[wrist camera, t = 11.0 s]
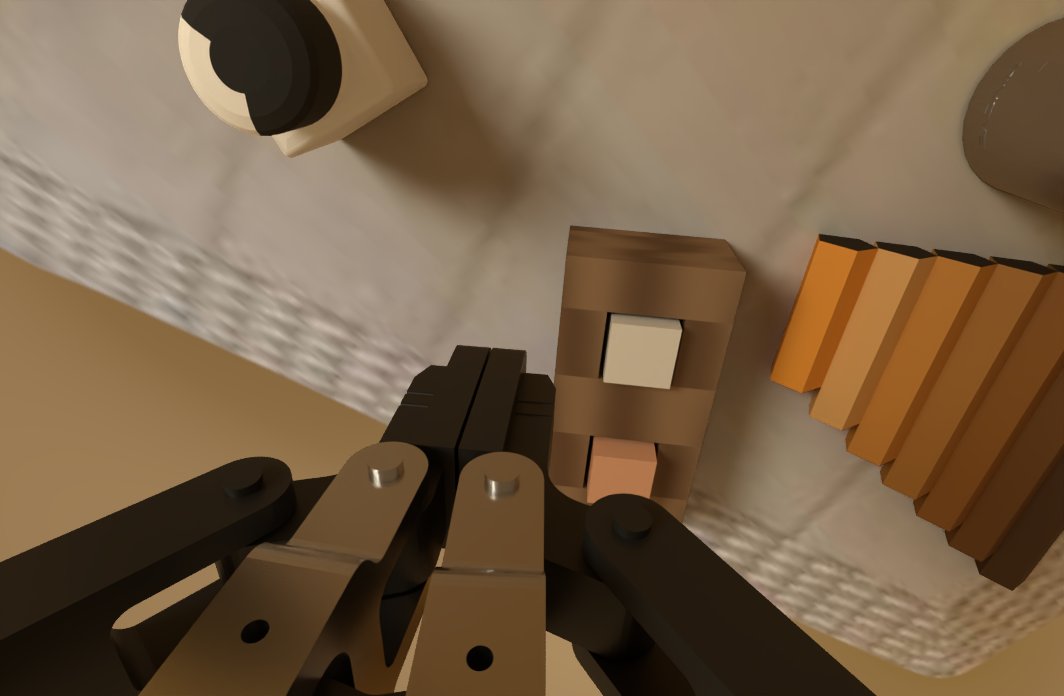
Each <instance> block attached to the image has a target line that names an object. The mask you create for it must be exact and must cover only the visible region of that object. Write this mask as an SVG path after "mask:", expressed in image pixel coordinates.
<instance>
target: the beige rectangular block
mask: <svg viewBox="0 0 1064 696" xmlns="http://www.w3.org/2000/svg"><path fill="white" fill-rule="evenodd" d="M681 333H682V328H681V325H680V322H679V319H675V318H665V317H655V316H644V315H634V314H624V313H614V312H607V317H606V324H605V331H604V338H603V382H606V383H616V384H625V385H635V386H644V387H654V388H663V389H670V385H671V380H672V375H673V371H674V366H675V361H676V357H677V352H678V347H679V342H680V338H681Z"/></svg>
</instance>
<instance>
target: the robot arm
mask: <svg viewBox="0 0 1064 696" xmlns="http://www.w3.org/2000/svg"><path fill="white" fill-rule="evenodd" d="M962 140H963V146H964V152H965V156H966V158H967V160H968V163H969V165H970V167H971V169H972V170H973V171H974V172H975V173H976V174H977V176H978V177H979V178H980V179H981V180H982V181H984V182H986V183H987V184H989V185H990V186H992V187H994V188H996V189H999V190H1002V191H1005V192H1007V193H1010V194H1013V195H1016V196H1018V197H1021V198H1024V199H1027V200H1030V201H1032V202H1035V203H1038V204H1040V205H1043V206H1045V207H1048V208H1051V209H1053V210H1056V211H1059V212H1062V213H1064V18H1062V19H1059V20H1056V21H1053V22H1050V23H1048V24H1046V25H1044V26H1042V27H1040V28H1039V29H1037V30H1035V31H1033V32H1031V33H1029V34H1027V35H1026V36H1025V37H1023V38H1022V39H1021V40H1019V41H1018V42H1017V43H1015V44H1014V45H1013V46H1011V47H1010V48H1009V49H1008V50H1007V51H1006V52H1005V53H1004V54H1003V55H1002V56H1001V57H1000V58H999V59H998V60H997V61H996V62H995V63H994V64H993V65H992V66H991V67H990V69H989V70H988V72H987V73H986V74H985V76H984V77H983V79H982V80H981V81H980V83H979V84H978V86H977V88H976V90H975V92H974V94H973V96H972V98H971V100H970V102H969V105H968V109H967V112H966V115H965V119H964V124H963V137H962ZM526 358H527V356H526V350H513V349H501V348H492V350H491V348H488V347H476V346H463V345H457V346H456V348H455V350H454V352H453V354H452V356H451V359H450V361H449V363H448V365H447V366H435V365H431V366H429V367H428V368H426V369H425V370H424V371H422V372H421V373H419V374H418V375H417V376H415V377H414V379H413V381H412V383H411V385H410V387H409V388H408V390H407V394H405V396H404V398H403V399H402V401H401V405H400V406H399V407H398V409H397V411H396V412H395V414H394V416H393V418H392V420H391V422H390V423H389V425H388V427H387V429H386V431H385V433H384V434H383V437H382V438H381V440H380V442H379V443H377V444H373V445H370V446H367V447H365V448H363V449H361V450H359V451H358V452H356V453H355V454H354V455H352V456H351V457H350V458H349V459H348V461H347V462H346V463H345V464H344V466H343V467H342V469H341V470H340V472H339V473H338V474H336V475H332V476H327V477H320V478H312V479H304V480H297V481H293V479H292V474H291V471H290V468H289V467H288V466H287V465H286V464H285V463H284V462H282V461H280V460H278V459H275V458H270V457H250V458H244V459H240V460H236V461H233V462H231V463H228V464H226V465H223V466H221V467H219V468H216V469H214V470H212V471H210V472H207V473H205V474H202V475H200V476H198V477H196V478H193V479H191V480H189V481H186V482H184V483H182V484H180V485H177V486H175V487H173V488H170V489H168V490H166V491H163V492H161V493H159V494H156V495H154V496H152V497H149V498H147V499H145V500H143V501H140V502H138V503H136V504H133V505H131V506H129V507H127V508H124V509H122V510H120V511H117V512H115V513H113V514H111V515H108V516H106V517H103V518H101V519H99V520H96V521H94V522H92V523H90V524H87V525H85V526H83V527H80V528H78V529H76V530H74V531H71V532H69V533H67V534H64V535H62V536H60V537H57V538H55V539H53V540H50V541H48V542H46V543H43V544H41V545H39V546H37V547H34V548H32V549H30V550H27V551H25V552H23V553H21V554H18V555H16V556H14V557H11V558H9V559H7V560H5V561H2V562H0V696H545V687H546V686H545V684H546V679H545V678H546V676H545V675H546V665H545V664H546V663H545V662H546V657H545V656H546V651H545V649H546V645H545V644H546V633H545V632H546V631H548V632H550V633H552V634H554V635H557V636H559V637H561V638H563V639H565V640H567V641H569V642H572V646H573V651H574V653H575V656H576V658H577V660H578V661H579V663H580V664H581V666H582V667H583V668H584V670H585V671H586V672H587V674H588V675H589V677H590V678H591V679H592V681H593V682H594V684H596V686H597V688H598V689H599V690H600V692H601V693H602V695H603V696H876V695H875V694H874V693H873V692H872V691H870V690H869V689H868V688H867V687H866V686H865V685H864V684H862V682H860V681H859V680H858V679H857V678H856V677H855V676H854V675H852V674H851V673H850V672H849V671H848V670H847V669H846V668H845V667H843V666H842V665H841V664H840V663H839V662H838V661H837V660H836V659H834V658H833V657H832V656H831V655H830V654H829V653H828V652H826V651H825V650H824V649H823V648H822V647H821V646H820V645H819V644H817V643H816V642H815V641H814V640H813V639H812V638H811V637H810V636H808V635H807V634H806V633H805V632H804V631H803V630H802V629H800V628H799V627H798V626H797V625H796V624H795V623H794V622H792V621H791V620H790V619H789V618H788V617H787V616H786V615H785V614H783V613H782V612H781V611H780V610H779V609H778V608H777V607H776V606H774V605H773V604H772V603H771V602H770V601H769V600H768V599H767V598H765V597H764V596H763V595H762V594H761V593H760V592H759V591H757V590H756V589H755V588H754V587H753V586H752V585H751V584H750V583H748V582H747V581H746V580H745V579H744V578H743V577H742V576H741V575H739V574H738V573H737V572H736V571H735V570H734V569H733V568H731V567H730V566H729V565H728V564H727V563H726V562H725V561H724V560H722V559H721V558H720V557H719V556H718V555H717V554H716V553H714V552H713V551H712V550H711V549H710V548H709V547H708V546H707V545H705V544H704V543H703V542H702V541H701V540H700V539H699V538H698V537H696V536H695V535H694V534H693V533H692V532H691V531H690V530H688V529H687V528H686V527H685V526H684V525H683V524H682V523H681V522H679V521H678V520H677V519H676V518H675V517H674V516H673V515H672V514H670V513H669V512H668V511H667V510H666V509H665V508H663V507H662V506H661V505H659V504H658V503H656V502H654V501H653V500H650V499H648V498H646V497H643V496H639V495H634V494H626V493H620V494H612V495H608V496H605V497H602V498H600V499H599V500H597V501H596V502H594V503H593V504H592V505H591V506H589V505H587V504H584V503H581V502H578V501H576V500H574V499H571V498H570V497H568V496H566V495H564V494H563V493H562V492H560V491H559V490H558V489H557V488H556V487H555V486H554V484H553V483H552V482H551V480H550V478H549V469H550V460H551V451H552V439H553V425H554V411H555V397H556V388H555V386H554V384H553V383H552V381H551V379H550V378H549V376H548V375H543V374H531V373H526ZM441 548H445V552H444V557H443V562H442V566H441V567H435V566H436V564H437V561H438V557H439V554H440V551H441ZM213 563H215V565H216V568H217V571H218V574H219V577H220V579H218V580H217V581H215V582H213V583H211V584H210V585H208V586H206V587H204V588H202V589H200V590H199V591H197V592H195V593H193V594H191V595H190V596H188V597H186V598H185V599H183V600H181V601H179V602H177V603H175V604H173V605H172V606H170V607H168V608H167V609H164V610H163V611H161V612H159V613H157V614H155V615H154V616H152V617H150V618H148V619H146V620H145V621H143V622H141V623H139V624H137V625H135V626H133V627H130V628H126V629H113V628H112V626H113V624H114V623H115V621H116V620H117V619H118V618H119V617H120V616H121V615H122V614H123V613H124V612H125V611H127V610H128V609H129V608H131V607H133V606H134V605H136V604H138V603H140V602H142V601H143V600H145V599H147V598H149V597H151V596H153V595H155V594H157V593H159V592H160V591H162V590H164V589H166V588H168V587H170V586H172V585H174V584H175V583H177V582H179V581H181V580H183V579H185V578H187V577H188V576H190V575H192V574H194V573H196V572H198V571H199V570H202V569H203V568H205V567H207V566H209V565H211V564H213ZM422 615H423V617H422ZM421 618H422V622H421V627H420V631H419V635H418V640H417V645H416V649H415V654H414V659H413V663H412V668H411V673H410V677H409V682H408V687H407V691H402V692H395V693H394V690H395V686H396V683H397V679H398V677H399V674H400V672H401V669H402V666H403V664H404V661H405V659H406V656H407V653H408V651H409V649H410V646H411V643H412V641H413V638H414V636H415V633H416V631H417V628H418V626H419V623H420V620H421Z"/></svg>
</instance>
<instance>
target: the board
mask: <svg viewBox="0 0 1064 696" xmlns="http://www.w3.org/2000/svg"><path fill="white" fill-rule="evenodd" d="M746 273H747V272H746V271H745V269H744V268H743V266H742V265H741V263H740V262H739V260H738V259H737V257H736V256H735V254H734V253H733V251H732V250H731V248H730V247H729V245H728V244H727V242H726V241H725V240H723V239H712V238H701V237H690V236H679V235H668V234H657V233H646V232H635V231H624V230H613V229H602V228H591V227H579V226H570V232H569V239H568V247H567V254H566V264H565V275H564V285H563V295H562V306H561V316H560V326H559V337H558V347H557V357H556V368H555V378H554V386H555V388H556V397H555V411H554V425H553V439H552V451H551V460H550V469H549V478H550V480H551V482H552V483H553V484H554V486H555V487H556V488H557V489H558V490H559V491H560V492H562V493H563V494H564V495H566V496H568V497H570V498H571V499H574V500H576V501H578V502H581V503H584V504H587V505H589V506H591V505H592V504H593V503H587V477H588V447H589V440H590V435H591V436H600V437H609V438H618V439H627V440H636V441H645V442H654V446H655V452H656V459H657V465H656V470H655V474H654V479H653V484H652V488H651V493H650V498H649V499H650V500H653V501H654V502H656V503H658V504H659V505H661V506H662V507H663V508H665V509H666V510H667V511H668V512H669V513H670V514H672V515H673V516H674V517H675V518H676V519H677V520H678V521H679V522H681V523H682V521H683V517H684V513H685V509H686V506H687V502H688V498H689V494H690V490H691V486H692V482H693V478H694V474H695V471H696V467H697V463H698V459H699V455H700V451H701V447H702V443H703V440H704V436H705V432H706V428H707V424H708V420H709V416H710V412H711V409H712V405H713V401H714V397H715V393H716V389H717V385H718V381H719V378H720V374H721V370H722V366H723V362H724V358H725V354H726V350H727V347H728V343H729V339H730V335H731V331H732V327H733V323H734V319H735V315H736V312H737V308H738V304H739V300H740V296H741V292H742V288H743V284H744V281H745V277H746ZM607 312H614V313H624V314H634V315H644V316H655V317H665V318H675V319H679V322H680V325H681V328H682V333H681V338H680V342H679V347H678V352H677V357H676V361H675V366H674V371H673V375H672V380H671V385H670V389H663V388H654V387H644V386H635V385H625V384H616V383H606V382H603V338H604V331H605V324H606V317H607Z"/></svg>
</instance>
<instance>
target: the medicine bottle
mask: <svg viewBox="0 0 1064 696" xmlns="http://www.w3.org/2000/svg"><path fill="white" fill-rule="evenodd" d="M178 39H179V50H180V55H181V60H182V63H183V67H184V70H185V72H186V74H187V77H188V79H189V81H190V83H191V85H192V87H193V89H194V90H195V92H196V93H197V95H198V96H199V98H200V99H201V100H202V101H203V103H204V104H205V105H206V106H207V107H208V108H209V109H210V110H211V111H212V112H213V113H214V114H215V115H216V116H217V117H218V118H220V119H221V120H222V121H224V122H225V123H227V124H228V125H230V126H232V127H234V128H236V129H238V130H240V131H242V132H246V133H249V134H253V135H259V136H272V137H273V138H274V140H275V141H276V143H277V144H278V146H279V147H280V149H281V150H282V152H283V153H284V154H285V155H286V156H288V157H291V158H292V157H295V156H298V155H301V154H303V153H306V152H309V151H311V150H314V149H317V148H319V147H322V146H325V145H327V144H330V143H333V142H336V141H338V140H341V139H343V138H344V137H346V136H348V135H349V134H351V133H352V132H354V131H355V130H357V129H359V128H360V127H362V126H363V125H365V124H367V123H368V122H370V121H371V120H373V119H374V118H376V117H378V116H379V115H381V114H382V113H384V112H386V111H387V110H389V109H390V108H392V107H393V106H395V105H397V104H398V103H400V102H401V101H403V100H404V99H406V98H408V97H409V96H411V95H412V94H414V93H416V92H417V91H419V90H420V89H422V88H423V87H425V86H426V85H427V82H428V80H427V77H426V75H425V73H424V71H423V69H422V68H421V66H420V64H419V62H418V60H417V59H416V57H415V55H414V53H413V52H412V50H411V48H410V46H409V44H408V43H407V41H406V39H405V37H404V35H403V34H402V32H401V30H400V28H399V26H398V25H397V23H396V21H395V19H394V17H393V16H392V14H391V12H390V10H389V8H388V7H387V5H386V3H385V1H384V0H187V2H186V4H185V6H184V9H183V11H182V14H181V18H180V23H179V33H178Z"/></svg>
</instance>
